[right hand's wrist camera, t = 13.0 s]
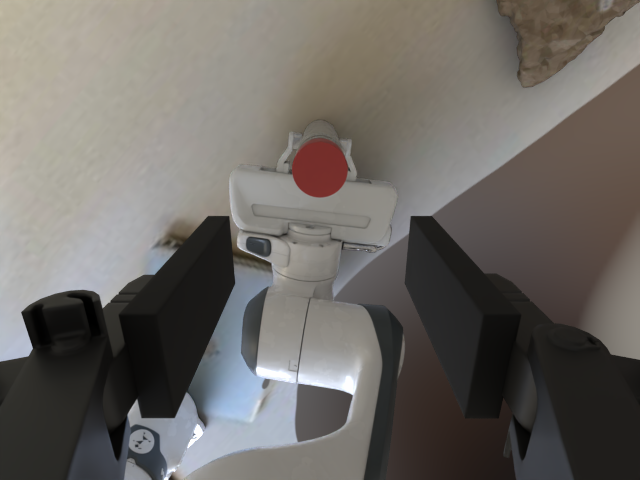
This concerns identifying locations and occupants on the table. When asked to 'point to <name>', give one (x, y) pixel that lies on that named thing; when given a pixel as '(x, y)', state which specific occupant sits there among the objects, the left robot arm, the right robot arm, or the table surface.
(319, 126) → the bottle
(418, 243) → the right robot arm
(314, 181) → the cap
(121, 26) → the table surface
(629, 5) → the stone
